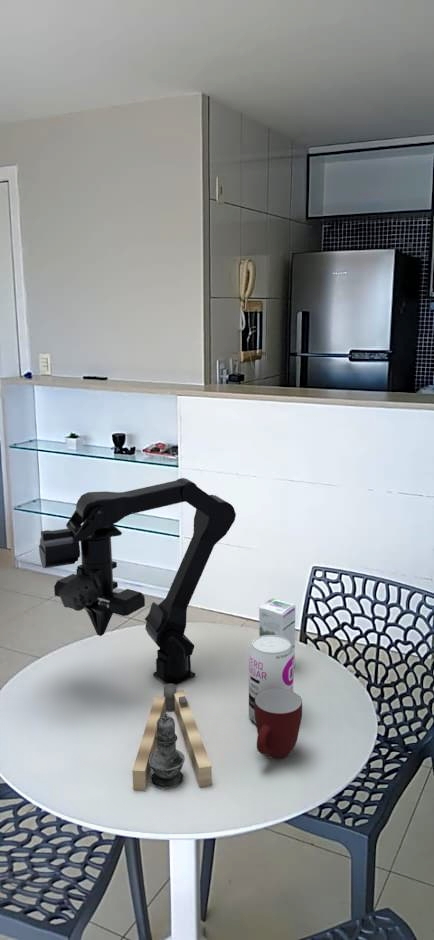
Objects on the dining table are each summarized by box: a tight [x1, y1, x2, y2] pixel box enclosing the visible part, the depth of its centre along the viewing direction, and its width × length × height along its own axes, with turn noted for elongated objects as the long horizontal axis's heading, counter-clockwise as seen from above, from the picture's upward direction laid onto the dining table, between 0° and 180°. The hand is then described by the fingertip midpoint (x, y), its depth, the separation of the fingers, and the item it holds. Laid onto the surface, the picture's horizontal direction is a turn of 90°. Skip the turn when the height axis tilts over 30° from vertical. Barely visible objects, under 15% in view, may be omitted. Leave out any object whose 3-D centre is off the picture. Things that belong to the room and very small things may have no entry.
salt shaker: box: [149, 711, 186, 790], centre depth 118 cm, size 6×6×12 cm
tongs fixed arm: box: [163, 683, 213, 788], centre depth 129 cm, size 25×4×4 cm, turn 13°
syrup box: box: [258, 598, 296, 667], centre depth 153 cm, size 6×6×14 cm
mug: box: [254, 688, 303, 760], centre depth 124 cm, size 10×8×10 cm
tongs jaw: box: [131, 696, 167, 791], centre depth 127 cm, size 22×2×4 cm, turn 175°
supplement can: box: [248, 635, 295, 724], centre depth 135 cm, size 8×8×15 cm
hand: (100, 634), depth 143 cm, fingers closed
